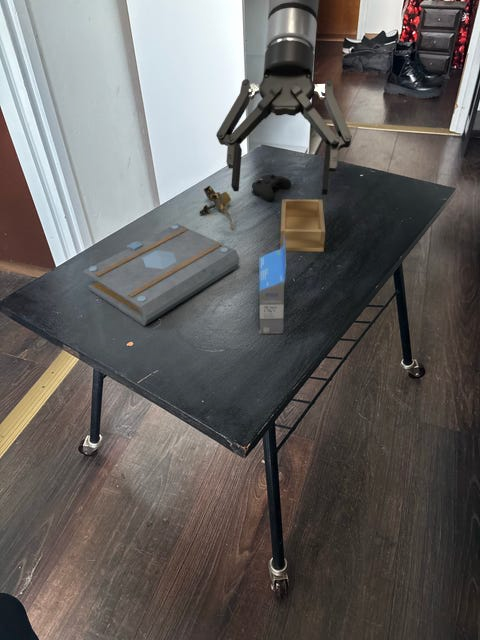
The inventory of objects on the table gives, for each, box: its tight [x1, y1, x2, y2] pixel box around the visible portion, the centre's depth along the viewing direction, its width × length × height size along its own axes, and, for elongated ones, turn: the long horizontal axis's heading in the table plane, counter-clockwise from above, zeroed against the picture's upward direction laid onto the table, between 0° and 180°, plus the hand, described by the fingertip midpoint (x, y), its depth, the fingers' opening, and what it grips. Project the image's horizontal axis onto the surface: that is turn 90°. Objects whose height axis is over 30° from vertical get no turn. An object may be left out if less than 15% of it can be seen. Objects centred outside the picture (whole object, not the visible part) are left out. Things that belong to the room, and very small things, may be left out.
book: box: [82, 223, 240, 327], centre depth 82 cm, size 21×16×5 cm
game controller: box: [251, 174, 292, 202], centre depth 109 cm, size 10×5×6 cm
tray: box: [279, 198, 326, 253], centre depth 93 cm, size 8×13×4 cm, turn 175°
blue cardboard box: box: [258, 234, 288, 335], centre depth 71 cm, size 9×4×12 cm, turn 178°
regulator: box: [199, 185, 234, 231], centre depth 101 cm, size 8×4×15 cm
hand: (279, 190), depth 72 cm, fingers open, 13 cm apart
